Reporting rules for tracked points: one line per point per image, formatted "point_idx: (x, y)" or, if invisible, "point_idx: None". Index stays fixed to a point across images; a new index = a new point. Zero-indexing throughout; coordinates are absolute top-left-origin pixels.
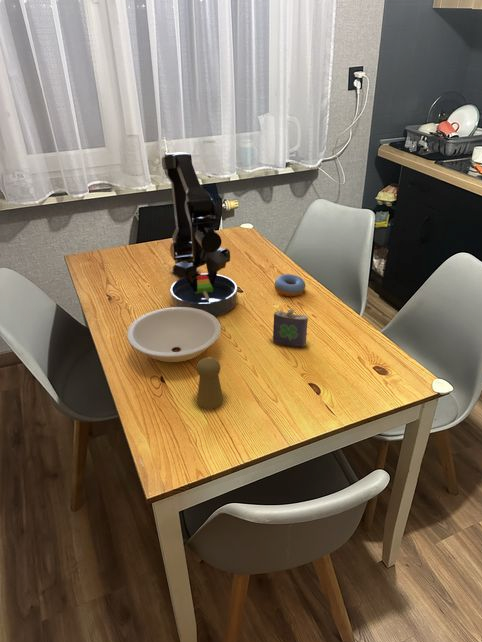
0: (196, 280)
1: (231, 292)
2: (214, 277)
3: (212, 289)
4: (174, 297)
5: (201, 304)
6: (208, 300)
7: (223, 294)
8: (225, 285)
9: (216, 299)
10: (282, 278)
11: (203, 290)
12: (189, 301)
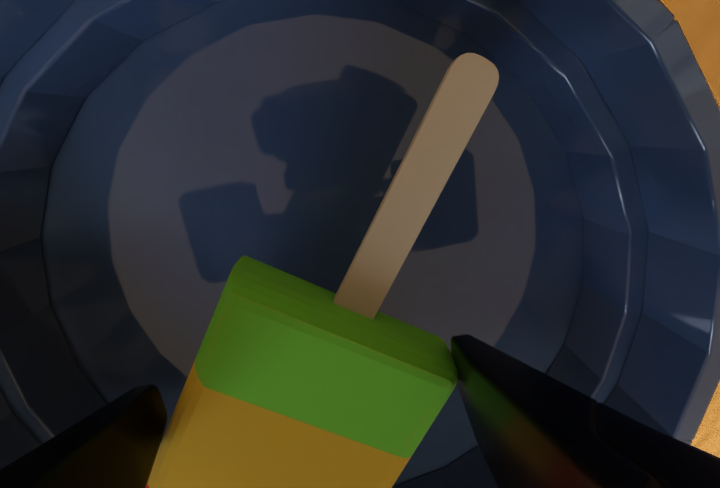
0: (613, 461)
1: (21, 228)
2: (60, 446)
3: (244, 265)
4: (705, 390)
5: (650, 1)
6: (293, 271)
7: (112, 275)
8: (10, 349)
9: (222, 240)
10: None
11: (362, 315)
12: None
